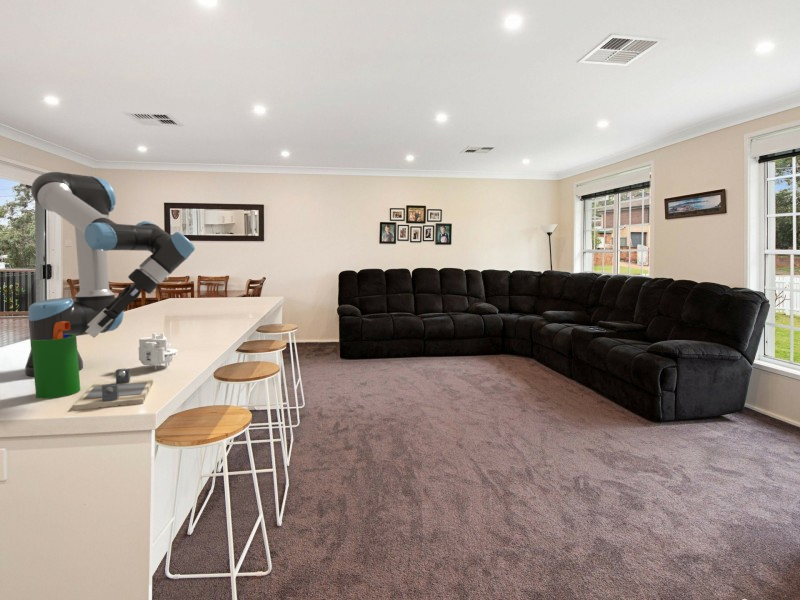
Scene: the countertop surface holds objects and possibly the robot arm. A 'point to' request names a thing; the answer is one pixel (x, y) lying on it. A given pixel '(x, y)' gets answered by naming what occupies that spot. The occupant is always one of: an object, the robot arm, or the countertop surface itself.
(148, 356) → the mechanical part
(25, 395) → the countertop surface
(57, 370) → the green plastic cylinder
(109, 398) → the knobbed dark grey block
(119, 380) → the grey block with stub
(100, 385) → the mount plate
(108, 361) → the countertop surface
